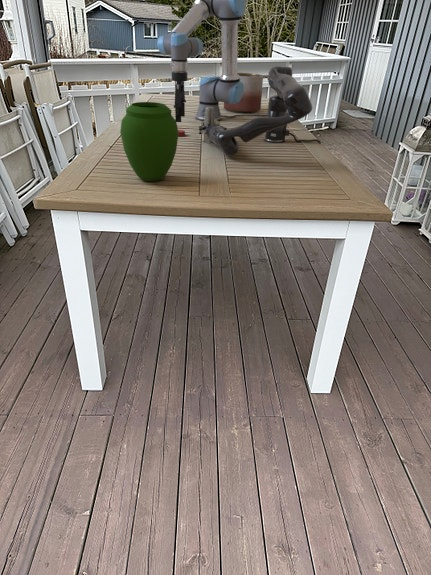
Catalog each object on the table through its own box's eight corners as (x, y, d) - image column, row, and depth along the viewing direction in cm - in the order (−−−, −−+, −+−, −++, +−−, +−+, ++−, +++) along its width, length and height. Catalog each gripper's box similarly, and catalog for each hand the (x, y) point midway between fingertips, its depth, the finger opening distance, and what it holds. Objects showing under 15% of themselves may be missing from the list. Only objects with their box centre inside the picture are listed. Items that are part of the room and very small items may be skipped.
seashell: (219, 131, 220) (219, 115, 216) (220, 133, 215) (221, 117, 211) (201, 130, 219) (202, 114, 214) (202, 133, 214) (203, 116, 210)
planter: (264, 113, 274) (268, 77, 262) (227, 113, 270) (229, 75, 258) (255, 107, 295) (258, 73, 283) (220, 106, 291) (222, 72, 279)
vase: (131, 189, 135) (125, 110, 122) (118, 172, 150) (112, 100, 137) (186, 184, 142) (187, 109, 129) (169, 168, 157) (167, 99, 144)
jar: (210, 143, 196) (211, 108, 188) (201, 141, 198) (202, 107, 190) (215, 141, 200) (217, 107, 191) (207, 140, 202) (208, 106, 193)
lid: (174, 133, 211) (174, 129, 209) (185, 134, 211) (185, 130, 210) (173, 136, 206) (173, 131, 205) (184, 136, 206) (184, 132, 205)
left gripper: (175, 68, 204) (176, 113, 215) (167, 74, 183) (168, 124, 194) (190, 69, 203) (190, 114, 215) (184, 74, 182) (184, 124, 194)
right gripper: (201, 143, 184) (193, 135, 198) (231, 142, 188) (221, 134, 201) (202, 125, 180) (193, 118, 194) (233, 125, 184) (222, 118, 197)
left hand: (180, 119), depth 205 cm, fingers open, 13 cm apart
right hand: (207, 126), depth 198 cm, fingers closed on jar, 5 cm apart
